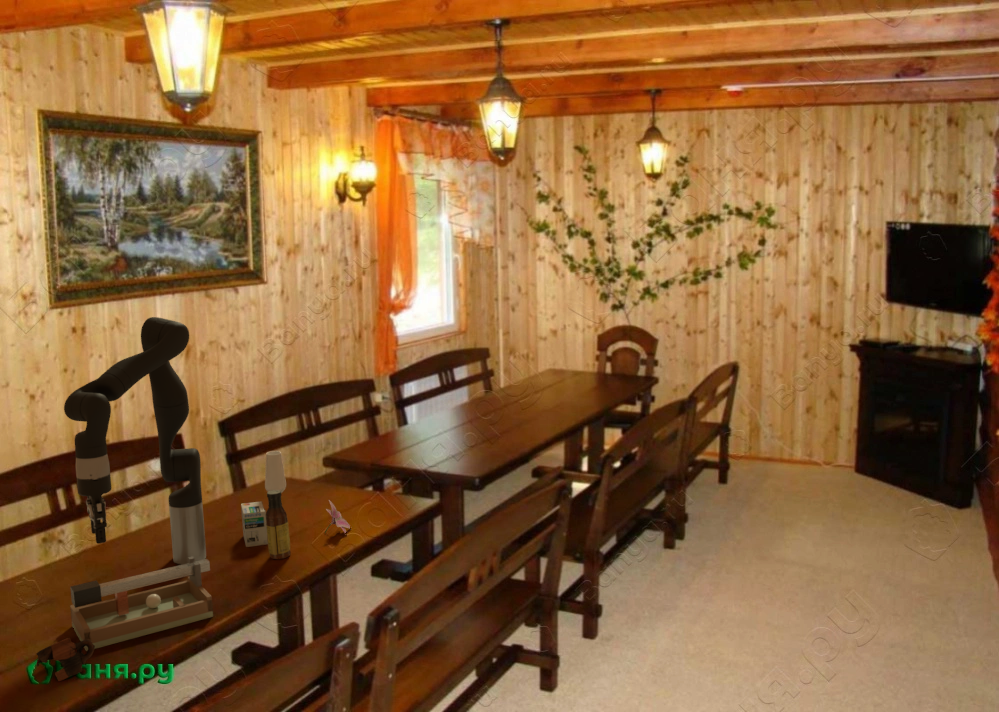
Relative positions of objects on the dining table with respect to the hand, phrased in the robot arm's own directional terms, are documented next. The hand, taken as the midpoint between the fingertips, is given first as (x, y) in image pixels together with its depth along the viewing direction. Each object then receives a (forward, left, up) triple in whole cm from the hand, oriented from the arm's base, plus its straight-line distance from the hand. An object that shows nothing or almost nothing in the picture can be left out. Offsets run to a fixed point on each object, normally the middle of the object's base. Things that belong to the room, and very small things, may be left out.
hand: (98, 537), depth 226 cm
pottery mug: (+18, -12, -23) cm, 32 cm away
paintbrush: (+1, +9, -20) cm, 22 cm away
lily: (-23, +74, -23) cm, 81 cm away
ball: (+1, +11, -19) cm, 22 cm away
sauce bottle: (-16, +52, -23) cm, 59 cm away
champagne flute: (-42, +62, -23) cm, 78 cm away
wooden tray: (+4, +8, -23) cm, 24 cm away
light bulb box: (-33, +51, -23) cm, 65 cm away
